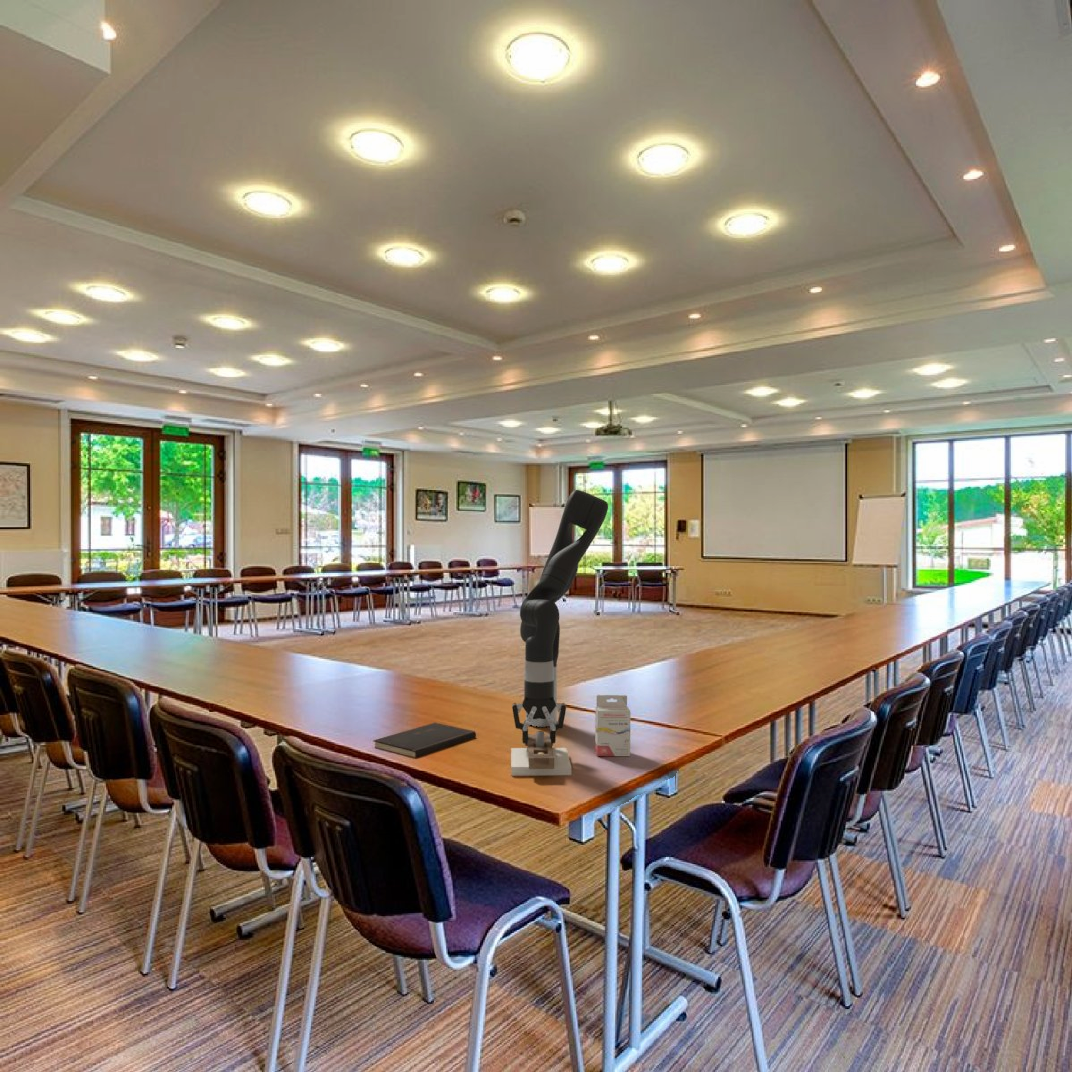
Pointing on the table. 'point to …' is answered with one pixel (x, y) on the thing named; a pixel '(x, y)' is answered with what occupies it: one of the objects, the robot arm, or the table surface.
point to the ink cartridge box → (612, 726)
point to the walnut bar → (540, 759)
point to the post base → (521, 754)
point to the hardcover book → (424, 739)
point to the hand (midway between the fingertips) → (539, 744)
